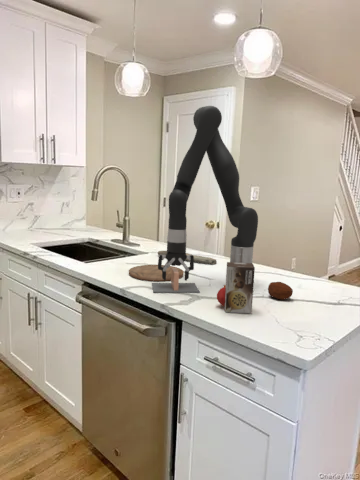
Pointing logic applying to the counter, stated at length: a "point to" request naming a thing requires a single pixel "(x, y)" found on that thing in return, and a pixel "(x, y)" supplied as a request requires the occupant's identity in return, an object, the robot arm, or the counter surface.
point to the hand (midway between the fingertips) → (175, 280)
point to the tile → (175, 279)
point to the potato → (280, 290)
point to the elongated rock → (196, 258)
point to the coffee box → (239, 287)
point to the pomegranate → (221, 296)
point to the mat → (168, 288)
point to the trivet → (152, 273)
